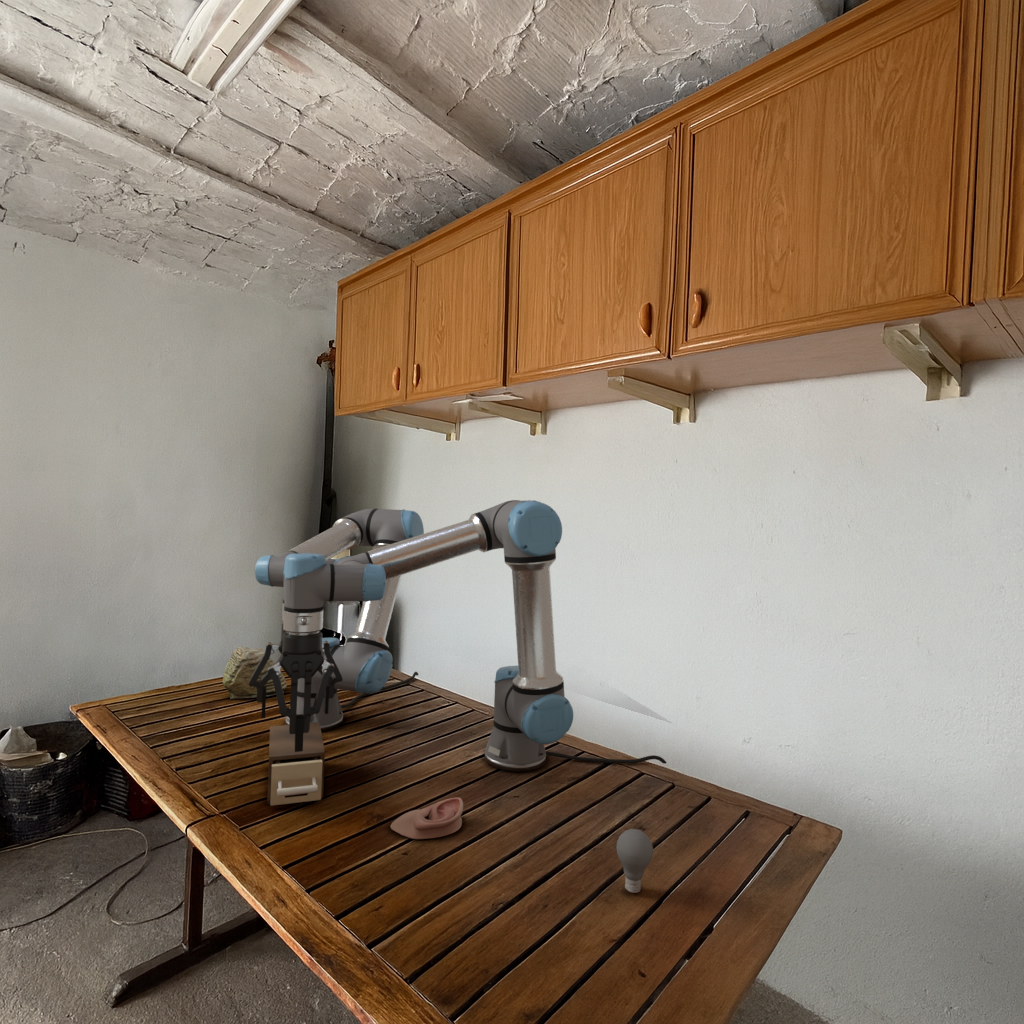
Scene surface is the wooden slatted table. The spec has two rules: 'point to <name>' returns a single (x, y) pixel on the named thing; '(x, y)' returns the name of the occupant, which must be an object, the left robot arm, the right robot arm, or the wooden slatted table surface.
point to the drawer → (296, 780)
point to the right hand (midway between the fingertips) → (298, 748)
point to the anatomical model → (431, 820)
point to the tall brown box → (285, 748)
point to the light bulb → (634, 857)
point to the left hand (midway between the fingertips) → (295, 714)
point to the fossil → (247, 673)
